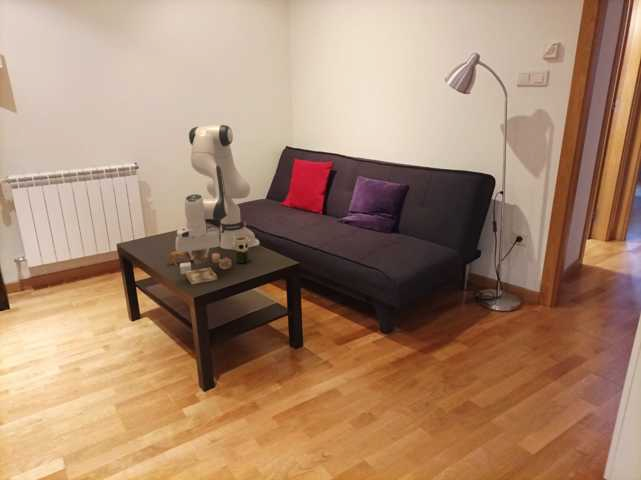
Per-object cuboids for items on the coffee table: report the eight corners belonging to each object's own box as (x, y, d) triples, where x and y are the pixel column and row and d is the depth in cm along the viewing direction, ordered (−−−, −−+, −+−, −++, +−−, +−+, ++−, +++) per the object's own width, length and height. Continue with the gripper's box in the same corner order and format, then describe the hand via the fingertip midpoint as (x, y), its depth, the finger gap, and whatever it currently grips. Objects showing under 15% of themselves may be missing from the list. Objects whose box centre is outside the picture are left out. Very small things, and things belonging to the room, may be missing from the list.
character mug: (236, 266, 246) (234, 241, 241) (230, 262, 251) (228, 238, 247) (255, 261, 251) (253, 237, 247) (248, 257, 257) (247, 234, 253)
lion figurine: (194, 259, 256) (192, 243, 253) (196, 262, 251) (195, 246, 249) (165, 264, 249) (163, 247, 246) (167, 267, 245) (165, 250, 242)
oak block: (226, 265, 248) (226, 257, 246) (231, 267, 244) (231, 260, 243) (219, 267, 245) (218, 259, 244) (223, 269, 242) (223, 262, 240)
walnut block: (203, 259, 232) (202, 249, 230) (205, 262, 228) (204, 252, 227) (193, 261, 230) (192, 251, 229) (195, 264, 226) (195, 254, 225)
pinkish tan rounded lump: (219, 259, 255) (218, 252, 253) (221, 262, 251) (220, 255, 250) (211, 261, 253) (210, 253, 252) (213, 263, 250) (212, 256, 248)
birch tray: (210, 271, 239) (210, 267, 239) (217, 279, 229) (216, 275, 229) (186, 275, 234) (185, 271, 234) (191, 284, 224) (191, 280, 224)
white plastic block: (191, 269, 242) (190, 262, 241) (191, 273, 237) (190, 265, 236) (180, 270, 241) (180, 263, 240) (180, 274, 236) (180, 266, 235)
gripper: (217, 225, 231) (219, 252, 236) (173, 231, 223) (176, 259, 227) (220, 228, 226) (222, 256, 230) (175, 234, 217) (178, 263, 222)
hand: (199, 258), depth 229 cm, fingers closed on walnut block, 4 cm apart
